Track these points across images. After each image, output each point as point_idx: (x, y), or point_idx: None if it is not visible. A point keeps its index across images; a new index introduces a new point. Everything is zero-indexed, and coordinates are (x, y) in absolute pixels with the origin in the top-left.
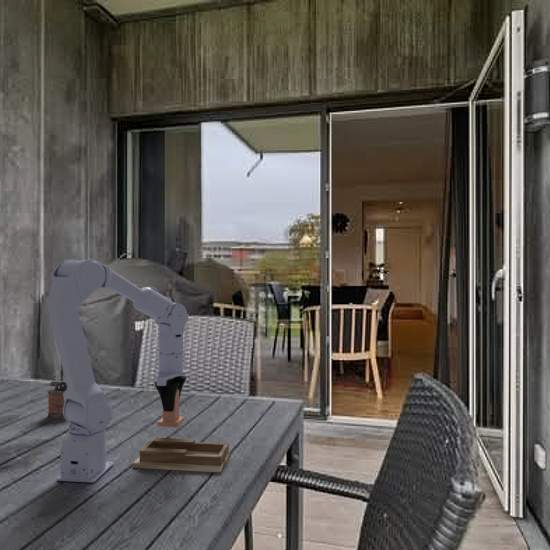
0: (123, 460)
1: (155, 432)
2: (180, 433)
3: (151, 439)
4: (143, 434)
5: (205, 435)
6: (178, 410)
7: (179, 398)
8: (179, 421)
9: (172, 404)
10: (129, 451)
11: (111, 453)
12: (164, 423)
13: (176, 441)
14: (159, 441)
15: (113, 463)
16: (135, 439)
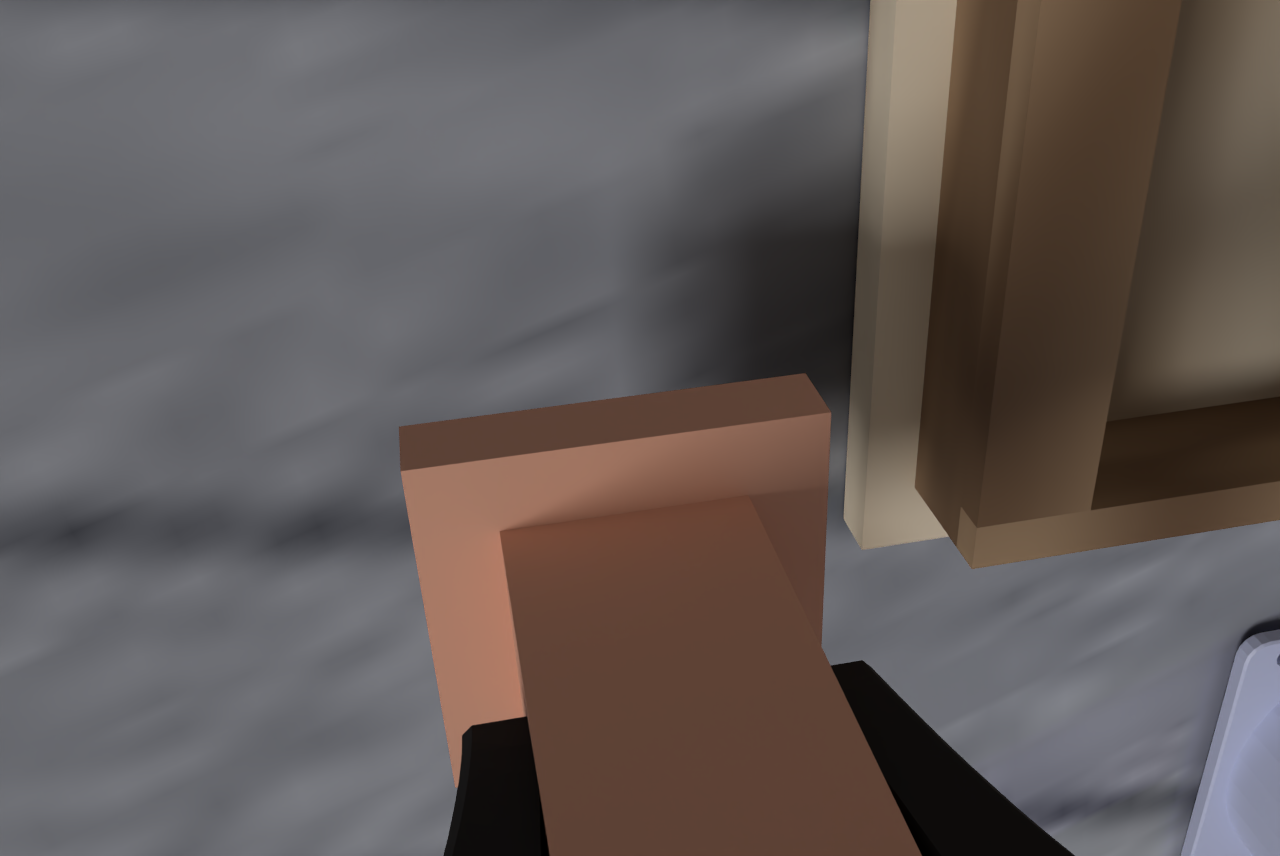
0: (1126, 613)
1: (200, 745)
2: (97, 446)
3: (1053, 551)
4: (326, 819)
5: (6, 5)
6: (554, 628)
7: (470, 853)
8: (736, 425)
9: (964, 765)
10: None
11: None
12: (812, 616)
13: (1138, 191)
14: (1101, 430)
15: (1262, 639)
16: None
